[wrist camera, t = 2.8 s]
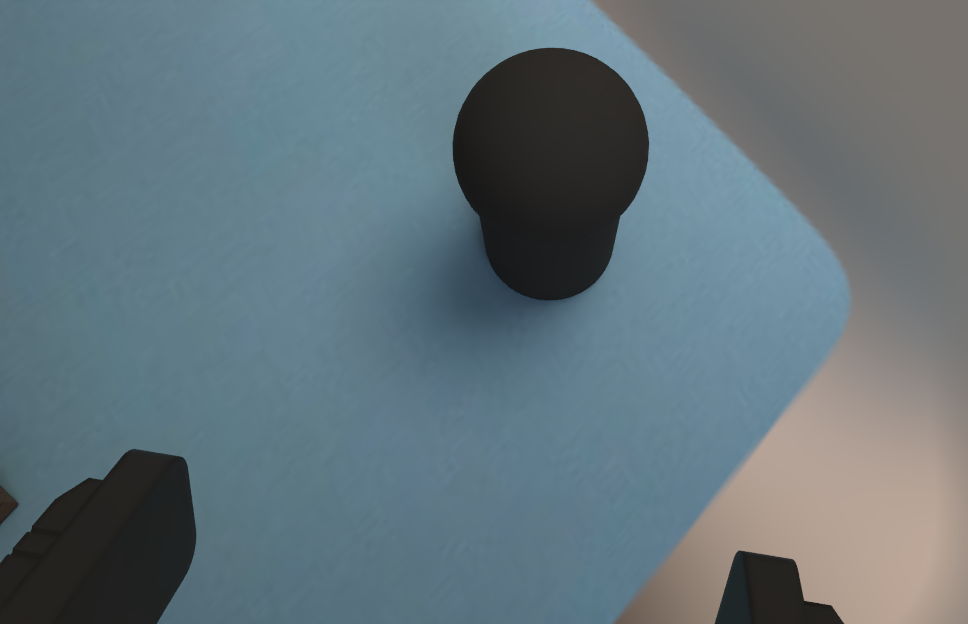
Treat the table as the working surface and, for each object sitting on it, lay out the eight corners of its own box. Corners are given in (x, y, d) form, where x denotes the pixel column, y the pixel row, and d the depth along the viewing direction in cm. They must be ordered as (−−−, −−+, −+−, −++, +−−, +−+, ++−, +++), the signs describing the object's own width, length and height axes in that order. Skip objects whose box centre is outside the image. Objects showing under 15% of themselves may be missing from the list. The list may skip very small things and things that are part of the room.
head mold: (656, 226, 30) (704, 82, 21) (562, 342, 29) (569, 245, 20) (537, 141, 31) (532, -31, 22) (443, 251, 30) (398, 119, 21)
